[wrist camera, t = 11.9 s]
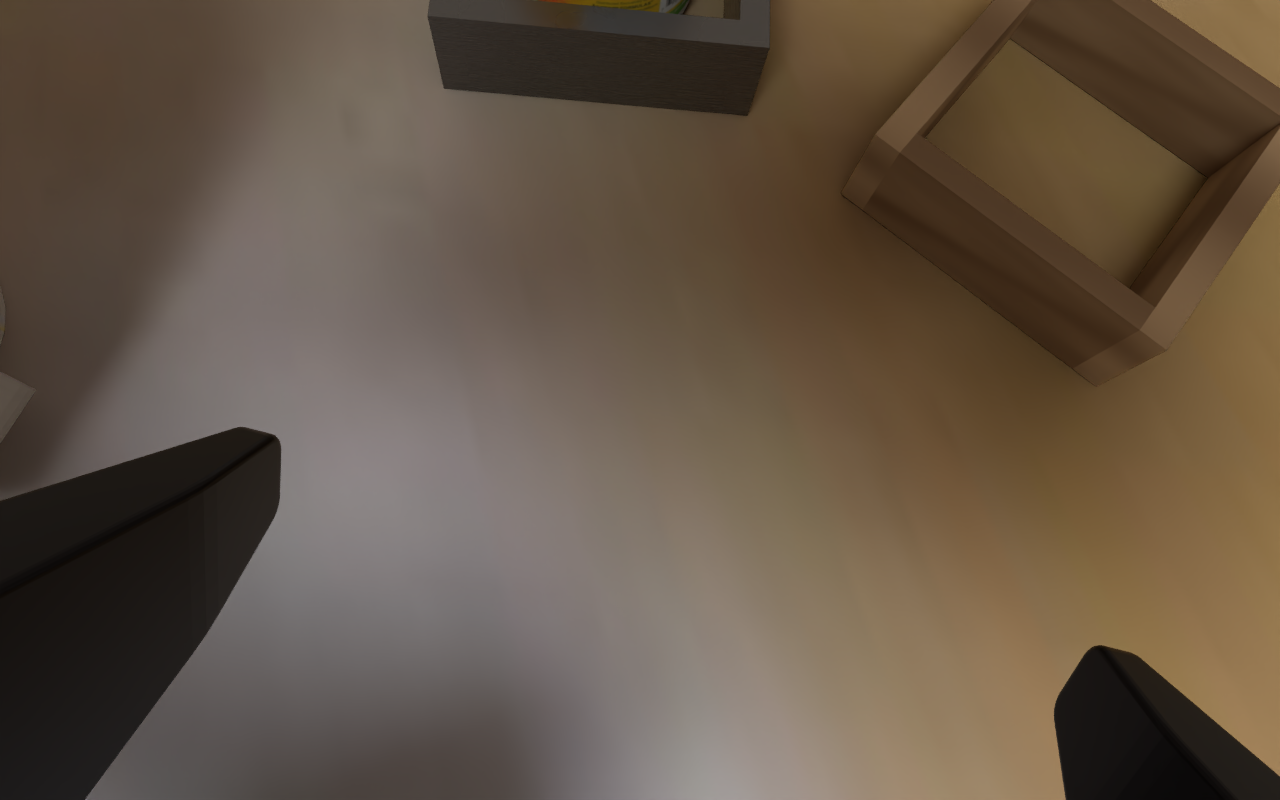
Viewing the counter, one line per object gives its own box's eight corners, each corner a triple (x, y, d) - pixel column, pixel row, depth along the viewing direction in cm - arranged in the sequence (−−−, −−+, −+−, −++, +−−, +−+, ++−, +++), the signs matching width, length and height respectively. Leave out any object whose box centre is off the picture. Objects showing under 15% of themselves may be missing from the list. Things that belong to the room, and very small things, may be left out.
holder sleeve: (1096, 386, 24) (1166, 350, 21) (840, 193, 25) (874, 134, 22) (1242, 176, 26) (1323, 118, 24) (1002, 8, 28) (1052, -67, 25)
